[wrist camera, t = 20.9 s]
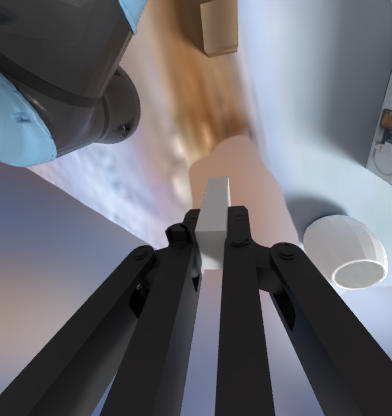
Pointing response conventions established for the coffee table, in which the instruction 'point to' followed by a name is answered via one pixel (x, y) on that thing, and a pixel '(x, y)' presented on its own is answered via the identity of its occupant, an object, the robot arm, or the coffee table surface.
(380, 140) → the skincare box
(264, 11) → the coffee table surface
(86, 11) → the robot arm
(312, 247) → the cup
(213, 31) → the walnut block
